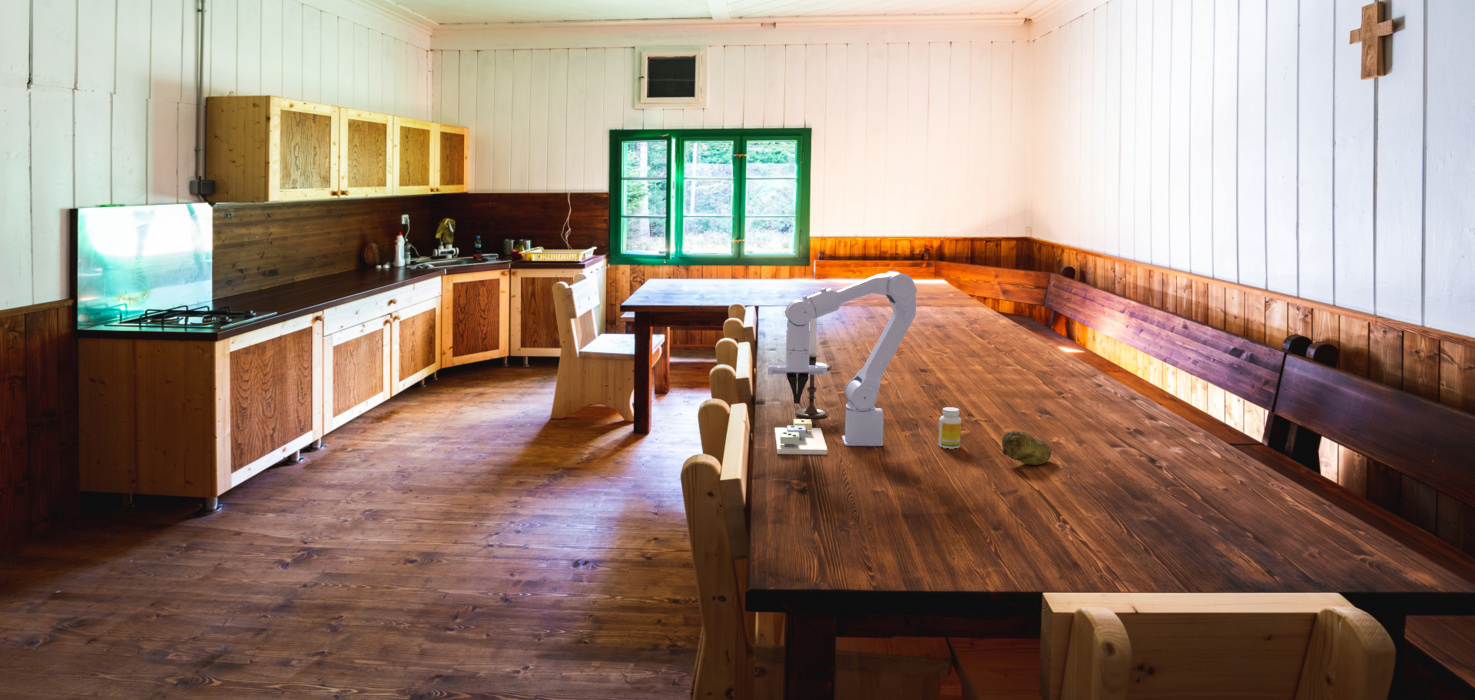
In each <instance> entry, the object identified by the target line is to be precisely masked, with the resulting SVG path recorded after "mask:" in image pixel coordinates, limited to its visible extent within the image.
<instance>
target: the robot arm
mask: <svg viewBox="0 0 1475 700" xmlns="http://www.w3.org/2000/svg"><path fill="white" fill-rule="evenodd" d="M917 292H918V288H917V287H916V285H915V282H914V279H913V278H912V277H911V276H910V275H909V274H906V273H901V272H899V271H897V270H889V271H887V272H885V273H877V274H875V275H872V276H870V277H867V278H865V279H862V280H860V281H858V282H855V283H853V284H851V285H848V286H846V287H844V288H841V289H839V290H835V289H833V288H826V287H823V288H820V289H819V291H818V292H815V294H814V293H813V294H811V295H808V296H807V295H803V296H802V297H801V298H802V299H793V300H791V301H790V302H789V303H788V304H787V305H786V308H785V310H784V314H785V317H786V319H787V320H786V321H787V322H786V327H787V328H786V329H787V330H786V335H785V336H786V340H785V341H786V342H785V343H786V344H785V346H786V347H785V353H786V354H785V364H778V365H775V364H774V365H768V366H767V374H768V375H769V376H770V375H772V376H773V375H786V380H787V381H788V384H789V386H790V389H791V391H792V397H793V404H794V405H795V404H796V405H797V404H798V405H800V404H801V399H802V395H803V391H804V389H805V387H806V384H807V382H808V381H809V379H810V374H815V375H818V376H819V375H821V376H827V375H828V371H827V366H814V365H809V346H810V321H811V319H812V318H814V319H815V318H817V319H818V318H821V317H823V316H826V315H828V314H831V313H834V312H837V311H839V309H840V308H841V306H842V304H843V303H847V302H850V301H853V300H855V299H858V298H861V297H864V296H865V297H866V296H867V295H870V294H877V295H881V296H882V295H883V296H886V299H888V300H889V304H890V306H891V309H892V314H891V316H890V318H889V320H888V321H887V323H886V325H885V327H884V328H883V330H882V332H881V334H880V336H879V337H878V339H877V341H876V343H875V345H874V346H873V349H872V350H871V352H870V354H869V356H868V357H867V360H866V361H865V363H864V366H863V367H861V368H860V369H859V370H858V371H857V372H856V374H855V376H854V377H853V378H852V379H850V380H849V381H848V382H847V383H846V385H845V387H844V395H845V397H846V398H847V399H848V400H847V403H846V404H845V417H844V418H845V421H844V422H845V423H844V435H841V439H842V443H843V444H844V446H846V447H847V446H849V447H859V446H860V447H883V446H884V410H883V408H881V407H876V406H875V405H876V403H877V400H878V393H879V390H880V388H881V383H882V377H883V375H884V373H885V371H886V370H887V368H888V366H889V364H890V363H891V361H892V359H893V357H894V355H895V354H896V351H897V350H898V348H899V346H900V344H901V342H902V340H903V339H904V337H905V335H906V333H907V332H908V330H909V328H910V326H911V325H912V323H913V321H914V319H915V317H916V315H917V302H916V301H917Z"/></svg>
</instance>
